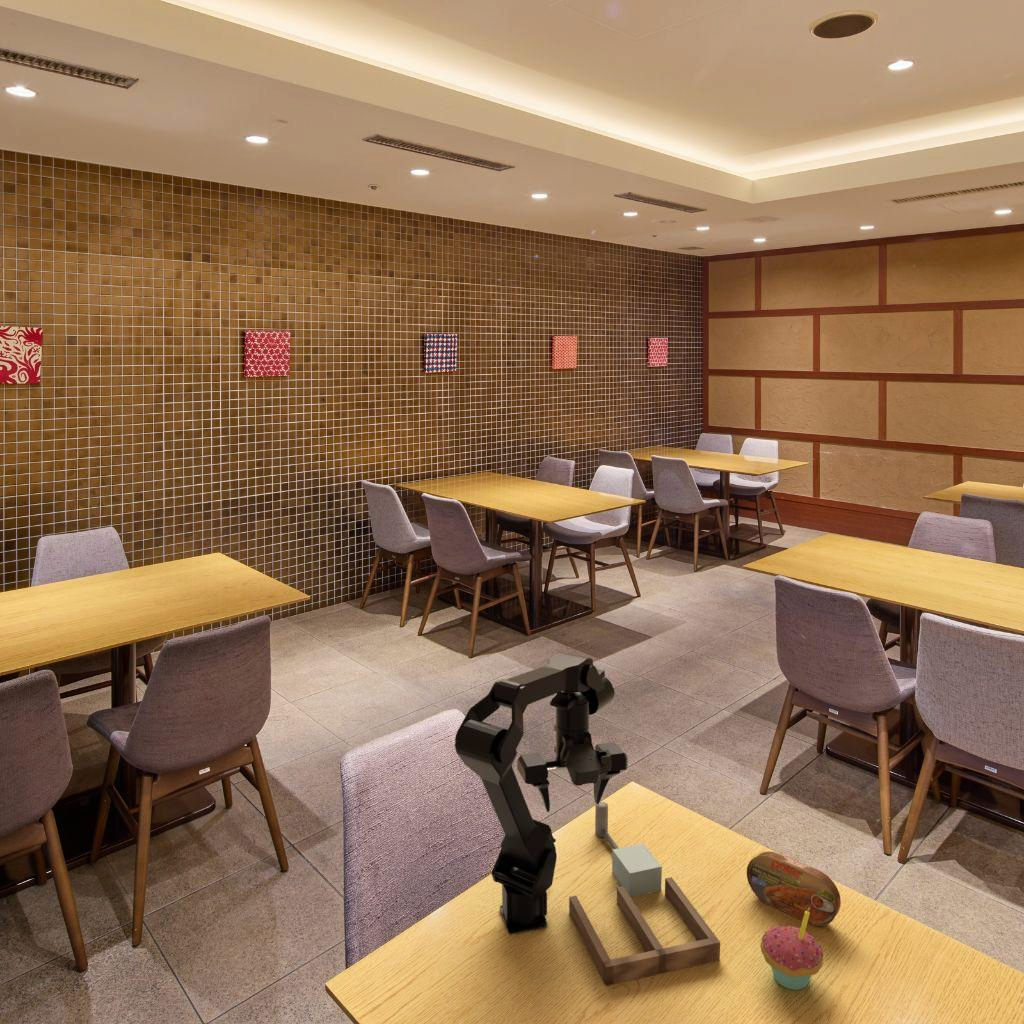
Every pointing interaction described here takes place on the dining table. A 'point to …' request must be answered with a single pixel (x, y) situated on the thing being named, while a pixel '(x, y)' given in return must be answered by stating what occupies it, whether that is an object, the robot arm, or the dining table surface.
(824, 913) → the tin
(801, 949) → the cupcake
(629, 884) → the grey block with handle
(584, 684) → the robot arm
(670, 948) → the lane rack
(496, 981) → the dining table surface
